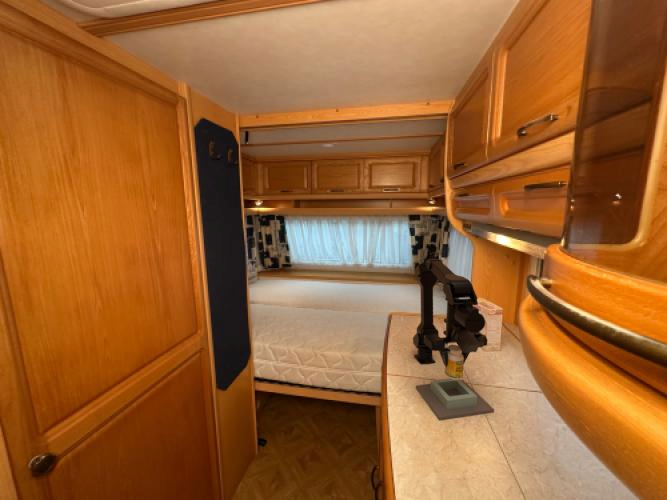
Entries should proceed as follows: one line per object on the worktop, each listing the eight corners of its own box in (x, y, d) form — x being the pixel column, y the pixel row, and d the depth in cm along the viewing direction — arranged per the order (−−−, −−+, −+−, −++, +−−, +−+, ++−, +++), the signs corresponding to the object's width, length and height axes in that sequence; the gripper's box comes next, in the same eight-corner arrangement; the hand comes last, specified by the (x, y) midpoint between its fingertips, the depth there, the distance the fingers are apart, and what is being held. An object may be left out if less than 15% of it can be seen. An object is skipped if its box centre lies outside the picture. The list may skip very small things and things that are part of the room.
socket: (415, 388, 94) (416, 377, 94) (462, 382, 97) (463, 371, 97) (439, 420, 80) (439, 408, 79) (493, 412, 82) (494, 400, 82)
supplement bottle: (451, 368, 91) (452, 341, 90) (466, 376, 86) (468, 348, 85) (441, 374, 88) (442, 346, 87) (456, 382, 84) (457, 353, 82)
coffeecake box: (465, 336, 133) (468, 297, 130) (480, 335, 133) (482, 297, 130) (485, 351, 118) (487, 308, 115) (500, 351, 118) (503, 308, 116)
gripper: (443, 332, 75) (441, 384, 77) (502, 326, 78) (498, 376, 80) (423, 317, 86) (422, 362, 88) (476, 312, 89) (473, 357, 91)
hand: (453, 365), depth 87 cm, fingers closed on supplement bottle, 5 cm apart
